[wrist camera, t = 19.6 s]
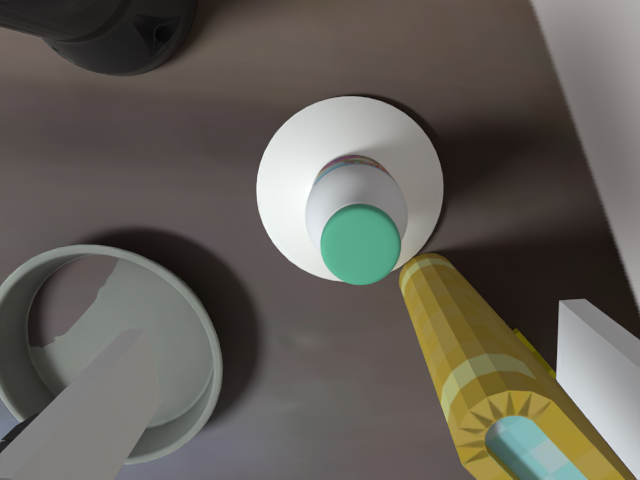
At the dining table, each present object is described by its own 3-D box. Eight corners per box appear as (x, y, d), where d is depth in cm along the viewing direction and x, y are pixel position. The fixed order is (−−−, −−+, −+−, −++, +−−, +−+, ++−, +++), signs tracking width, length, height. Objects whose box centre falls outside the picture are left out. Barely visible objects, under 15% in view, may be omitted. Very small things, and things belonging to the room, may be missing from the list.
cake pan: (236, 245, 49) (225, 257, 45) (228, 448, 55) (218, 477, 51) (2, 223, 50) (-31, 234, 45) (20, 427, 56) (-7, 454, 51)
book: (538, 352, 50) (721, 570, 26) (487, 390, 52) (616, 630, 27) (435, 238, 48) (531, 363, 24) (384, 281, 49) (426, 441, 25)
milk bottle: (376, 242, 47) (401, 329, 28) (302, 217, 47) (275, 288, 27) (404, 167, 45) (452, 205, 26) (327, 141, 45) (316, 160, 25)
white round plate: (248, 104, 45) (246, 104, 44) (440, 89, 44) (442, 88, 43) (268, 283, 50) (266, 286, 49) (442, 273, 49) (444, 276, 48)
